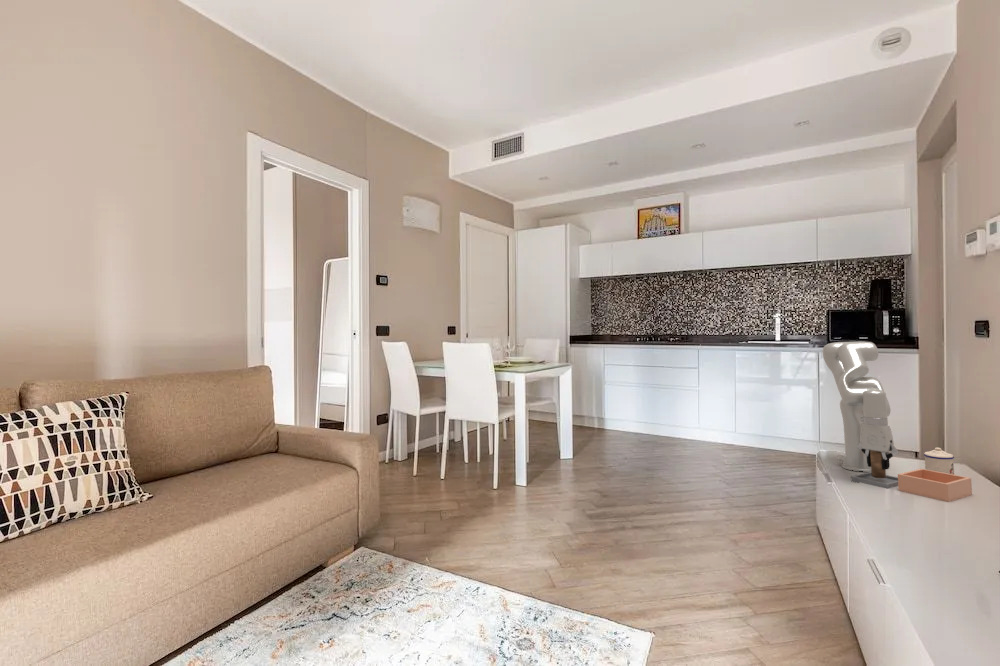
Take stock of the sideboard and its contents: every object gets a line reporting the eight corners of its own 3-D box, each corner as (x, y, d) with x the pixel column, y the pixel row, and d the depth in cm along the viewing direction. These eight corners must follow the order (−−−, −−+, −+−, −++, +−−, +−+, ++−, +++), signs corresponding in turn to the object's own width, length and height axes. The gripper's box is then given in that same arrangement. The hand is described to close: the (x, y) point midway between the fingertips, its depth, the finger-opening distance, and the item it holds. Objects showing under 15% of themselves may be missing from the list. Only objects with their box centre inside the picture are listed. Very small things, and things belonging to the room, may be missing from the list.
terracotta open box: (898, 491, 179) (897, 474, 179) (921, 485, 185) (920, 468, 185) (948, 503, 165) (947, 484, 165) (972, 496, 171) (971, 477, 171)
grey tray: (851, 481, 193) (851, 476, 193) (871, 476, 198) (871, 471, 198) (887, 489, 181) (887, 484, 181) (908, 484, 186) (907, 479, 186)
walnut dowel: (868, 476, 191) (867, 448, 191) (875, 474, 193) (874, 447, 193) (881, 478, 187) (879, 450, 187) (888, 477, 189) (886, 449, 189)
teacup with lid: (957, 481, 188) (956, 451, 188) (927, 478, 193) (925, 449, 193) (950, 473, 198) (949, 445, 198) (921, 471, 203) (920, 443, 203)
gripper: (847, 419, 197) (849, 464, 196) (894, 425, 181) (897, 474, 181) (858, 417, 200) (861, 461, 199) (906, 423, 184) (908, 471, 184)
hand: (878, 467), depth 190 cm, fingers closed on walnut dowel, 4 cm apart
